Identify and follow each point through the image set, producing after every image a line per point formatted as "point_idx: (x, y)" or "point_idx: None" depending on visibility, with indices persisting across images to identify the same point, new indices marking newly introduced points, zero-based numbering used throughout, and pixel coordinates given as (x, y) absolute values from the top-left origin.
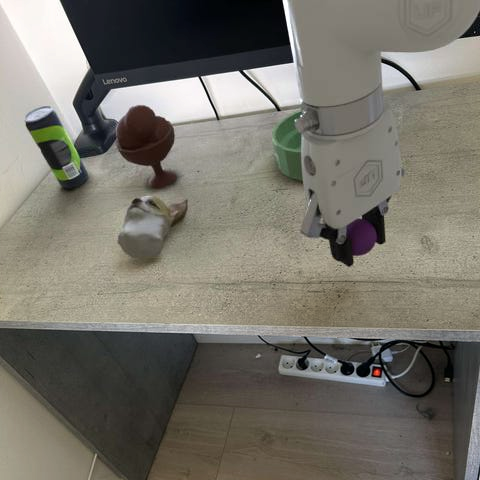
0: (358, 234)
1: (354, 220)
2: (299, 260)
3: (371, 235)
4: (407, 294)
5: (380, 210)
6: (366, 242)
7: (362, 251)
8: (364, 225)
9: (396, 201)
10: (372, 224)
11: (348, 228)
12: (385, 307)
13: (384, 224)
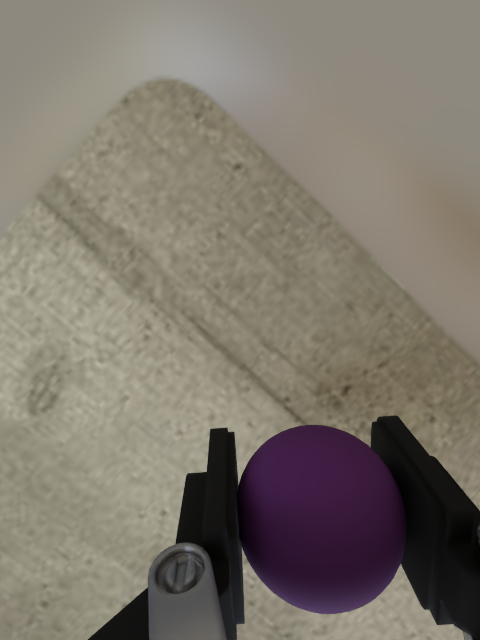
0: (368, 518)
1: (328, 604)
2: None
3: (303, 476)
4: (211, 277)
5: (213, 586)
6: (341, 458)
7: (349, 436)
8: (316, 547)
9: (6, 553)
10: (238, 528)
11: (384, 580)
12: (287, 280)
13: (206, 493)
